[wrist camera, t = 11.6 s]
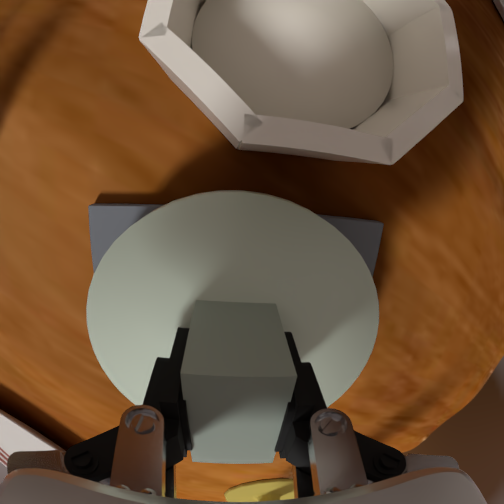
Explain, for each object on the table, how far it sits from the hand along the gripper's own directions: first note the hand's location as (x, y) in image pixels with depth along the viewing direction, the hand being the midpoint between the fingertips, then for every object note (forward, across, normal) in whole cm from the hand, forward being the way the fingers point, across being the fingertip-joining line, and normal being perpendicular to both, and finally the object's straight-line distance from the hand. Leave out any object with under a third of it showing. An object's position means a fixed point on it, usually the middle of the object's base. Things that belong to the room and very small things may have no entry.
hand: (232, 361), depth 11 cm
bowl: (+4, -2, -13) cm, 14 cm away
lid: (+2, 0, 0) cm, 2 cm away
